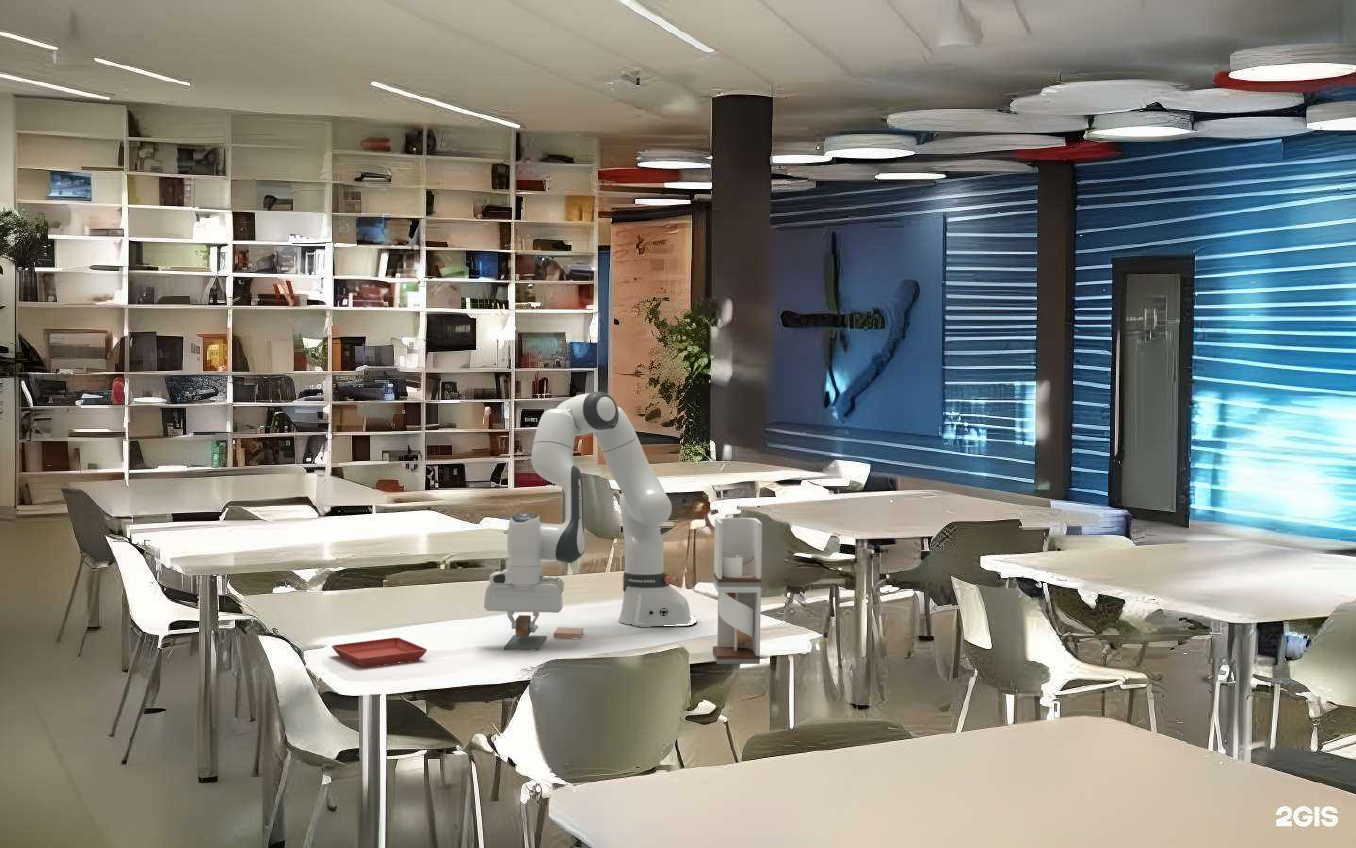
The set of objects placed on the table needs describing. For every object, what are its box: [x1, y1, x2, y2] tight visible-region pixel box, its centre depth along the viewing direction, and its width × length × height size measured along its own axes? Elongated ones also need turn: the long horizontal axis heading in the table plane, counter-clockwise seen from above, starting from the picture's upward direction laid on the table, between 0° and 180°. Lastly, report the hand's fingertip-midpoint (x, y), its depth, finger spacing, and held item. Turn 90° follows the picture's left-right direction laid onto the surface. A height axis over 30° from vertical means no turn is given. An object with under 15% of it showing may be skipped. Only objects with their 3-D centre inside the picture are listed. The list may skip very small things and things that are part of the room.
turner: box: [514, 614, 539, 637], centre depth 361 cm, size 5×13×4 cm, turn 178°
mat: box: [503, 634, 548, 651], centre depth 361 cm, size 9×16×1 cm, turn 178°
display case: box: [712, 517, 763, 665], centre depth 345 cm, size 11×11×35 cm
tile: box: [553, 626, 584, 640], centre depth 372 cm, size 7×2×8 cm
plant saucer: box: [331, 637, 428, 668], centre depth 341 cm, size 18×18×3 cm
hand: (523, 628), depth 358 cm, fingers closed on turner, 3 cm apart
